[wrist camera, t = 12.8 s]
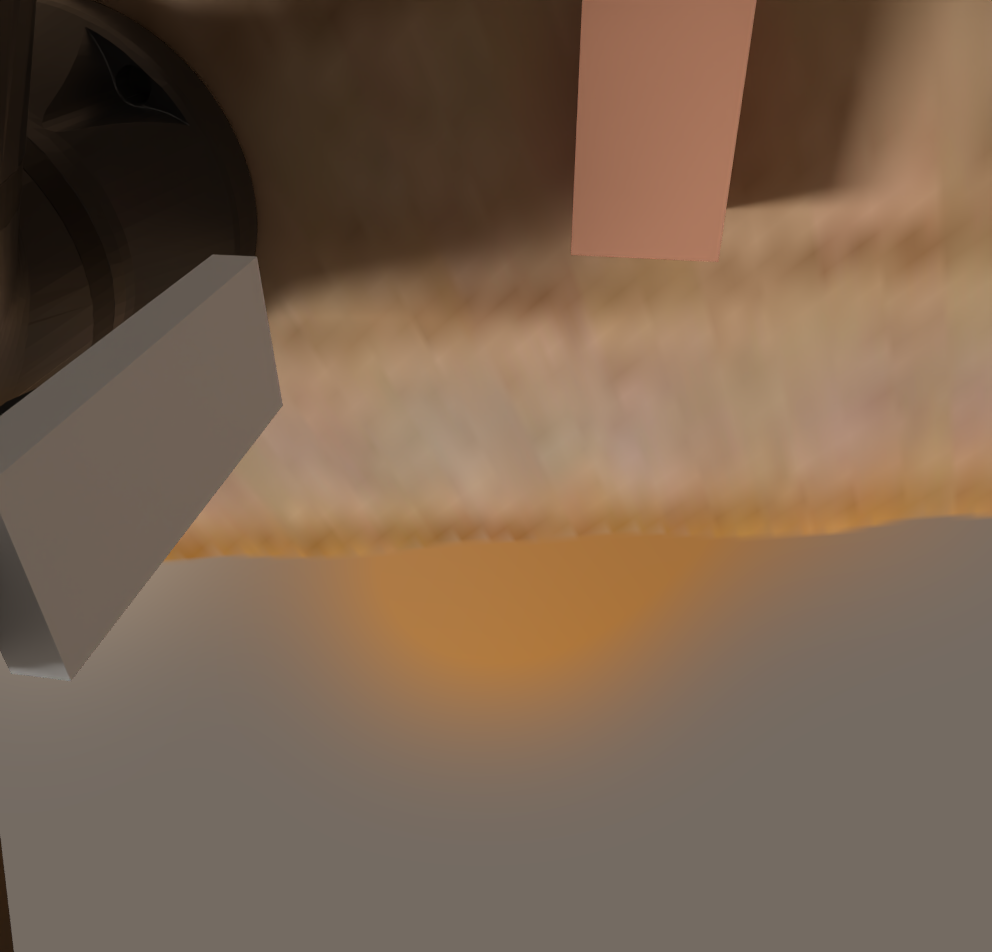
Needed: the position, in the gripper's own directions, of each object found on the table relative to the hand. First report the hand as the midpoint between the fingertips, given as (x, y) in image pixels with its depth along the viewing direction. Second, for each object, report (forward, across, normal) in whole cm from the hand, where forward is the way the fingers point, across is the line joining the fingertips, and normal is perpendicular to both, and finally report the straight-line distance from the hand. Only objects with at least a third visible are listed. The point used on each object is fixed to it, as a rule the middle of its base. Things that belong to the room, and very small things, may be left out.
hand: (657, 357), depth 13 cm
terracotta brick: (+22, 0, 0) cm, 22 cm away
